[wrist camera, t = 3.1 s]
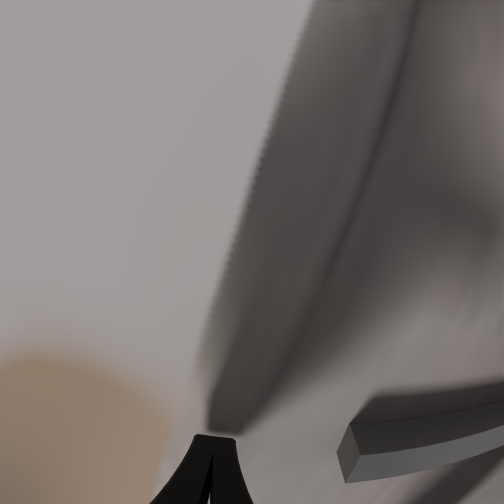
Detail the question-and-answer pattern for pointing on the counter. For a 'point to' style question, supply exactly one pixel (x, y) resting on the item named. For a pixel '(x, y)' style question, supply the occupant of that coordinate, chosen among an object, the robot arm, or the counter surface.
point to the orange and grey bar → (419, 442)
